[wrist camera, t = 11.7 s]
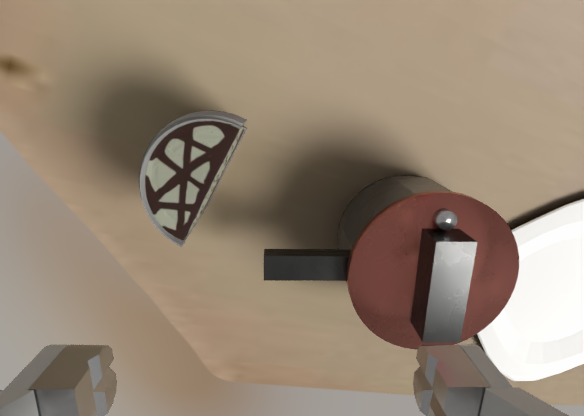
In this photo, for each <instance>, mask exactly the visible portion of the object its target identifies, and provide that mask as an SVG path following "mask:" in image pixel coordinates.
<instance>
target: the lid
mask: <svg viewBox="0 0 584 416" xmlns="http://www.w3.org/2000/svg"><path fill="white" fill-rule="evenodd" d="M518 272H519V253H518V247H517V243H516V240H515V237H514V235H513V233H512V231H511V229H510V227H509V226H508V225H507V223H506V222H505V220H504V219H503V218H502V217H501V216H500V215H499V214H498V213H497V212H496V211H494V210H493V209H491V208H490V207H489V206H487V205H485V204H483V203H482V202H480V201H478V200H476V199H474V198H472V197H469V196H467V195H464V194H461V193H456V192H451V191H426V192H421V193H416V194H413V195H409V196H406V197H404V198H402V199H399V200H397V201H395V202H393V203H392V204H390V205H388V206H387V207H385V208H384V209H382V210H381V211H380V212H378V213H377V214H376V215H375V216H374V217H373V218H372V219H371V220H370V221H369V222H368V223H367V224H366V225H365V227H364V228H363V229H362V230H361V232H360V233H359V235H358V237H357V239H356V240H355V242H354V245H353V247H352V249H351V252H350V255H349V259H348V265H347V285H348V291H349V294H350V297H351V300H352V303H353V306H354V308H355V310H356V312H357V314H358V316H359V317H360V319H361V320H362V322H363V323H364V324H365V325H366V326H367V327H368V328H369V330H371V331H372V332H373V333H374V334H376V335H377V336H378V337H380V338H382V339H383V340H385V341H387V342H389V343H392V344H394V345H397V346H401V347H404V348H410V349H418V348H419V346H420V345H454V344H457V343H460V342H462V341H465V340H467V339H468V338H470V337H472V336H474V335H476V334H477V333H479V332H480V331H482V330H483V329H484V328H485V327H487V326H488V325H489V324H490V323H491V322H492V321H493V320H494V319H495V318H496V317H497V316H498V315H499V314H500V313H501V311H502V310H503V309H504V307H505V306H506V304H507V303H508V301H509V299H510V297H511V295H512V293H513V291H514V288H515V285H516V282H517V278H518Z"/></svg>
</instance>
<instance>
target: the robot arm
mask: <svg viewBox="0 0 584 416" xmlns="http://www.w3.org/2000/svg"><path fill="white" fill-rule="evenodd" d="M113 359H114V358H113V353H112V348H111V347H109V346H106V345H49V346H46V347H44V349H42V351H41V352H40V353H39V354H38V355H37V356H36V357H35V358H34V359H33V360H32V361H31V362H30V363H29V364H28V365H27V366H26V367H25V368H24V369H23V370H22V372H21V373H20V374H19V375H18V376H17V377H16V378H15V379H14V380H13V381H12V382H11V383H10V384H9V385H8V386H7V387H6V388H5V389H4V390H0V416H104V415H106V414H107V413H108V412H109V410H110V408H111V406H112V404H113V401H114V397H115V394H116V384H117V380H116V374H115V372H114V371H113V370H112V369H111V368H110V367H109V366H110V364H111V363H112V361H113ZM416 359H417V361H418V363H419V365H420V367H419V368H418V369H417V370H416V371H415V372H414V381H413V386H414V395H415V398H416V402H417V405H418V407H419V409H420V411H421V412H422V413H423V414H425V415H426V416H568V415H567V414H565V413H563V412H561V411H559V410H558V409H556V408H554V407H552V406H551V405H549V404H547V403H545V402H543V401H542V400H540V399H538V398H536V397H535V396H533V395H531V394H529V393H528V392H526V391H524V390H522V389H520V388H513V387H512V386H511V385H510V383H509V382H508V381H507V380H506V378H505V377H504V376H503V375H502V373H501V372H500V371H499V370H498V368H497V367H496V366H495V365H494V364H493V362H492V361H491V360H490V359H489V357H488V356H487V355H486V354H485V352H484V351H483V350H482V349H481V347H480V346H478V345H476V344H457V345H420V346H419V348H418V350H417V357H416Z"/></svg>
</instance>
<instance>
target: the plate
mask: <svg viewBox="0 0 584 416" xmlns="http://www.w3.org/2000/svg"><path fill="white" fill-rule="evenodd" d="M511 231H512V233H513V235H514V237H515V240H516V243H517V247H518V253H519V272H518V278H517V282H516V285H515V288H514V291H513V293H512V295H511V297H510V299H509V301H508V303H507V304H506V306H505V307H504V309H503V310H502V311H501V313H500V314H499V315H498V316H497V317H496V318H495V319H494V320H493V321H492V322H491V323H490V324H489V325H488V326H487V327H485V328H484V329H483V330H482V331H480V332H479V333H477V336H478V338H479V340H480V342H481V344H482V347H483V349H484V351H485V353H486V355H487V356H488V357H489V359H490V360H491V361H492V362H493V364H494V365H495V366H496V367H497V368H498V370H499V371H500V372H501V373H502V374H503V375H504V376H506V377H508V378H509V379H511V380H512V381H535V380H539V379H542V378H545V377H548V376H552V375H555V374H558V373H561V372H564V371H566V370H569V369H571V368H574V367H576V366H579V365H581V364H584V198H583V199H580V200H577V201H574V202H571V203H568V204H565V205H563V206H561V207H558V208H556V209H554V210H552V211H550V212H547V213H545V214H543V215H541V216H538V217H536V218H534V219H532V220H530V221H528V222H526V223H524V224H522V225H520V226H518V227H515V228H513V229H511Z"/></svg>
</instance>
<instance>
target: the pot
mask: <svg viewBox="0 0 584 416" xmlns="http://www.w3.org/2000/svg"><path fill="white" fill-rule="evenodd" d="M426 191H450V190H448V189H447V188H445V187H443V186H441V185H439V184H437V183H436V182H434V181H432V180H430V179H428V178H426V177H416V176H408V175H401V176H393V177H388V178H385V179H381V180H379V181H377V182H375V183H373V184H371V185H369V186H368V187H366V188H365V189H363V190H362V191H361V192H360V193H358V194H357V196H356V197H355V198H354V199H353V200H352V201H351V202H350V204H349V205H348V207H347V208H346V210H345V212H344V214H343V216H342V219H341V221H340V225H339V230H338V246H339V250H336V249H265V250H264V280H341V281H347V265H348V259H349V255H350V252H351V249H352V247H353V245H354V242H355V240H356V239H357V237H358V235H359V233H360V232H361V230H362V229H363V228H364V227H365V225H366V224H367V223H368V222H369V221H370V220H371V219H372V218H373V217H374V216H375V215H376V214H377V213H378V212H380V211H381V210H382V209H384V208H385V207H387V206H388V205H390V204H392V203H393V202H395V201H397V200H399V199H402V198H404V197H406V196H409V195H413V194H416V193H421V192H426ZM451 192H452V191H451Z"/></svg>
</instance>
